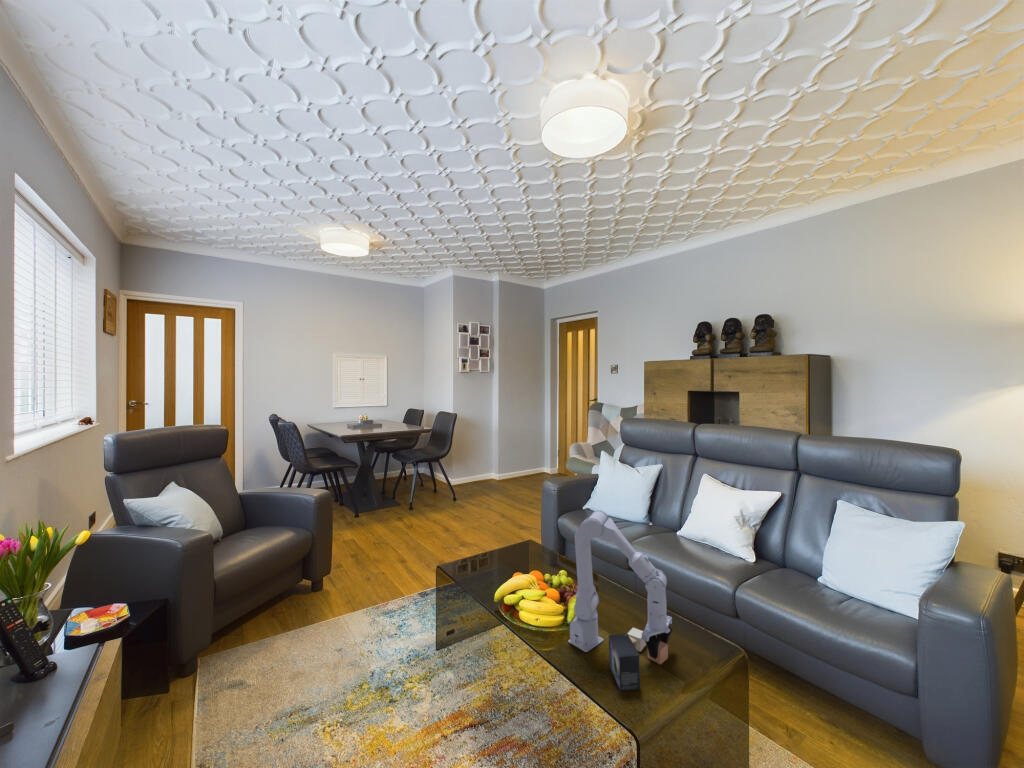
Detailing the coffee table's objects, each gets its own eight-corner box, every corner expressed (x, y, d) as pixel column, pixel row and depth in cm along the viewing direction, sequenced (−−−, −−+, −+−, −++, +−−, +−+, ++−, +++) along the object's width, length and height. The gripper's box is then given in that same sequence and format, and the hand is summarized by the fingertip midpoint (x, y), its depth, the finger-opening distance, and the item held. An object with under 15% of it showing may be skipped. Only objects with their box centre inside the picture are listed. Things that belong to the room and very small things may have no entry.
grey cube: (640, 652, 145) (640, 638, 145) (627, 647, 148) (627, 633, 148) (645, 645, 149) (645, 632, 148) (633, 640, 151) (632, 627, 151)
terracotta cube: (660, 664, 139) (660, 650, 139) (647, 657, 142) (647, 644, 142) (668, 658, 142) (667, 644, 142) (655, 651, 145) (655, 638, 145)
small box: (607, 667, 138) (607, 634, 138) (628, 665, 139) (627, 632, 138) (619, 692, 128) (618, 656, 127) (641, 690, 128) (640, 654, 128)
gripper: (656, 625, 134) (656, 670, 134) (680, 607, 143) (681, 649, 144) (635, 616, 139) (636, 659, 139) (660, 599, 148) (661, 639, 149)
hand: (657, 653), depth 142 cm, fingers closed on terracotta cube, 4 cm apart
